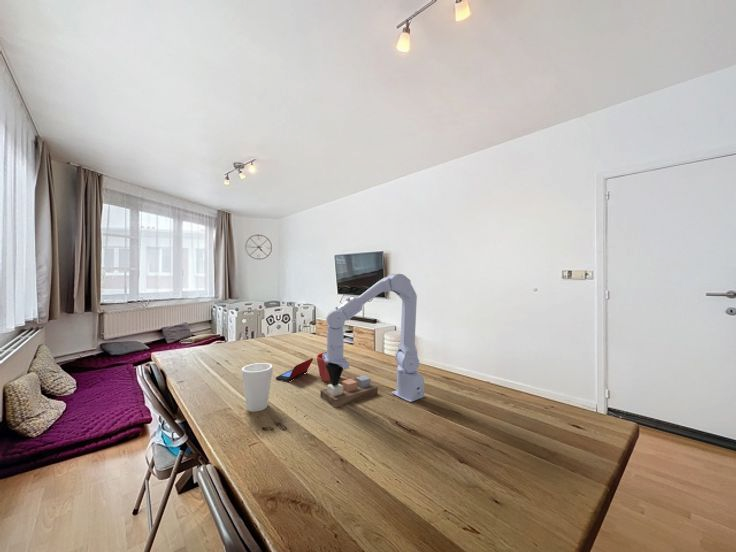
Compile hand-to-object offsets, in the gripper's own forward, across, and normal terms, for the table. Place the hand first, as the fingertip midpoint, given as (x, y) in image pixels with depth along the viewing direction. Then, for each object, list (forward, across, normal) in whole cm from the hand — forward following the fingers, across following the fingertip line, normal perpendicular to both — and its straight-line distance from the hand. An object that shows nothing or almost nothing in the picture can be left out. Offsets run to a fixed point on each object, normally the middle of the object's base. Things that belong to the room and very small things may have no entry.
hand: (335, 384), depth 99 cm
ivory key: (+3, 0, 0) cm, 3 cm away
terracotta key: (+3, 0, +6) cm, 7 cm away
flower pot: (+6, -19, +9) cm, 22 cm away
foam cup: (+6, -11, -23) cm, 26 cm away
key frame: (+5, 0, +6) cm, 8 cm away
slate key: (+3, 0, +12) cm, 13 cm away
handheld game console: (+6, -30, -2) cm, 30 cm away
